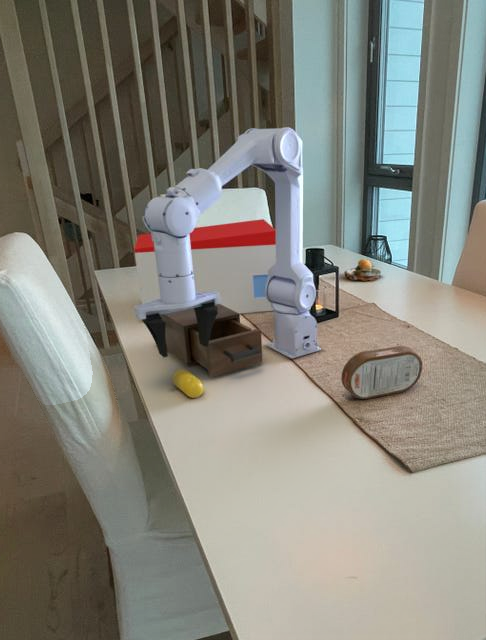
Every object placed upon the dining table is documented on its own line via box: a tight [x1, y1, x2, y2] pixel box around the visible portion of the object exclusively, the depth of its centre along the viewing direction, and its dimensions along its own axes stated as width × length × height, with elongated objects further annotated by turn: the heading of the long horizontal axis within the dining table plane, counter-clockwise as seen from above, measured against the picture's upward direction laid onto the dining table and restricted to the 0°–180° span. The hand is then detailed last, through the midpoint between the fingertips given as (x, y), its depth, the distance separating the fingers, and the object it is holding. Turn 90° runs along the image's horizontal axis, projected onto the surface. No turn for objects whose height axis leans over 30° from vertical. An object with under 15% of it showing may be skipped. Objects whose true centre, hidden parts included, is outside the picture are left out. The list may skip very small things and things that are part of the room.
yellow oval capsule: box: [172, 369, 205, 399], centre depth 92 cm, size 9×3×3 cm, turn 36°
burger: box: [343, 256, 382, 282], centre depth 166 cm, size 12×12×8 cm
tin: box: [340, 345, 423, 400], centre depth 89 cm, size 15×3×8 cm, turn 111°
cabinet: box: [160, 304, 241, 367], centre depth 110 cm, size 15×13×9 cm
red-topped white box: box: [133, 218, 276, 315], centre depth 138 cm, size 21×35×21 cm, turn 104°
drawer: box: [188, 319, 264, 378], centre depth 101 cm, size 18×11×7 cm, turn 37°
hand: (184, 349), depth 89 cm, fingers open, 7 cm apart
